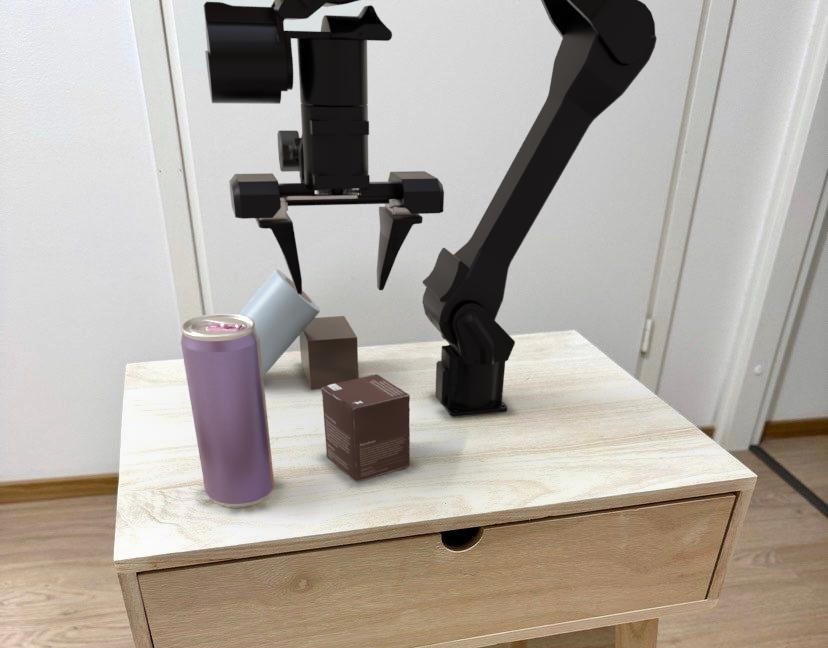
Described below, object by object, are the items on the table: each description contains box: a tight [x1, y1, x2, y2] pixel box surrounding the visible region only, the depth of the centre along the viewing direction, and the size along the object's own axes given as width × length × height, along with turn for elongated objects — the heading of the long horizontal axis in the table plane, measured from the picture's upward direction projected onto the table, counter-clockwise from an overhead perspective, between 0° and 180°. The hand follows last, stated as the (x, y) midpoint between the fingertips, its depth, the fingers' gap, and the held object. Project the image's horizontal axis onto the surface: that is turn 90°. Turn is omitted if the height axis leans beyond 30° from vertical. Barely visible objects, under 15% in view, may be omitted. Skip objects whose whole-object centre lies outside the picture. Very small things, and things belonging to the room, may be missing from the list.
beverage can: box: [180, 313, 275, 509], centre depth 62 cm, size 6×6×15 cm
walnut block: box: [298, 315, 359, 390], centre depth 88 cm, size 6×8×6 cm
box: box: [321, 373, 411, 482], centre depth 70 cm, size 6×6×7 cm
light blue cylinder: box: [237, 269, 321, 377], centre depth 85 cm, size 12×6×12 cm, turn 105°
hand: (340, 291), depth 73 cm, fingers open, 8 cm apart
